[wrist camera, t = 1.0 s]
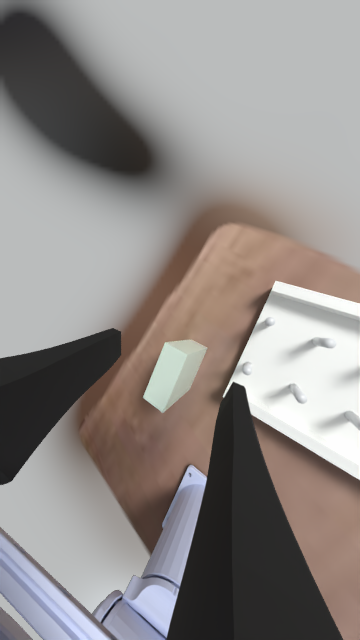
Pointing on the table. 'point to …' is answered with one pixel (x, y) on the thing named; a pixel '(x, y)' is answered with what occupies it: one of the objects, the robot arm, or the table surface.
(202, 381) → the table surface
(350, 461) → the dish rack
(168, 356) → the block
